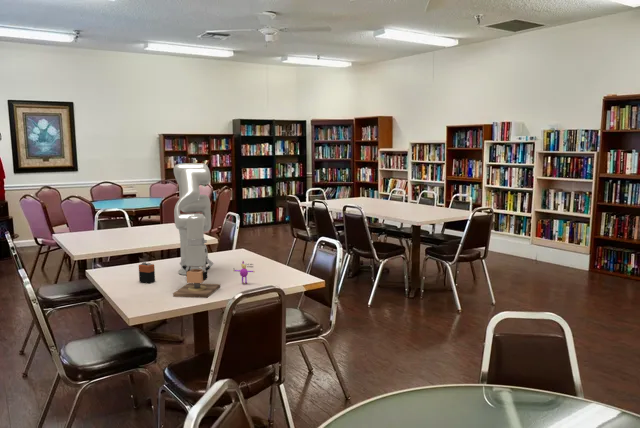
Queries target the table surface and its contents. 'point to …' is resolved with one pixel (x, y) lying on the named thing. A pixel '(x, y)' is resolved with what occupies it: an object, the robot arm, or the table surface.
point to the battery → (146, 273)
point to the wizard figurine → (244, 271)
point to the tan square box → (195, 276)
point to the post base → (196, 290)
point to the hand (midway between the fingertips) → (197, 279)
